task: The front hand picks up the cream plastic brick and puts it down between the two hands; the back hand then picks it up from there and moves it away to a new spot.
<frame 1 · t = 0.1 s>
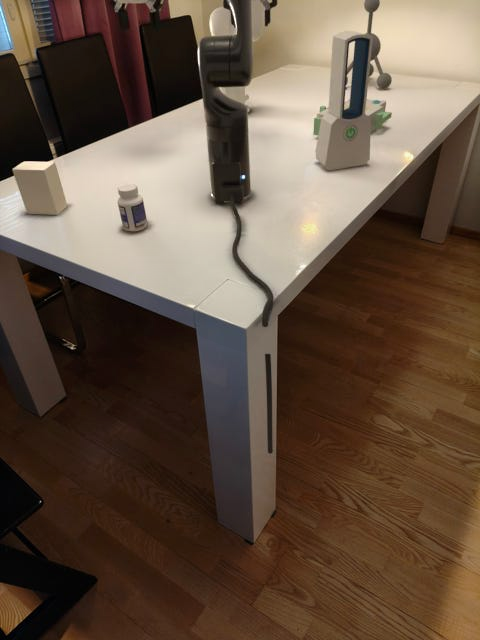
front hand: (251, 26, 133), 29 cm above the table, tool pointing down, fingers open, 8 cm apart
back hand: (140, 30, 123), 31 cm above the table, tool pointing down, fingers open, 9 cm apart
molecular model: (358, 86, 194), on the table
pill bottle: (135, 227, 105), on the table
decorative block: (349, 129, 151), on the table
electronic device: (341, 163, 129), on the table
brick: (47, 209, 115), on the table
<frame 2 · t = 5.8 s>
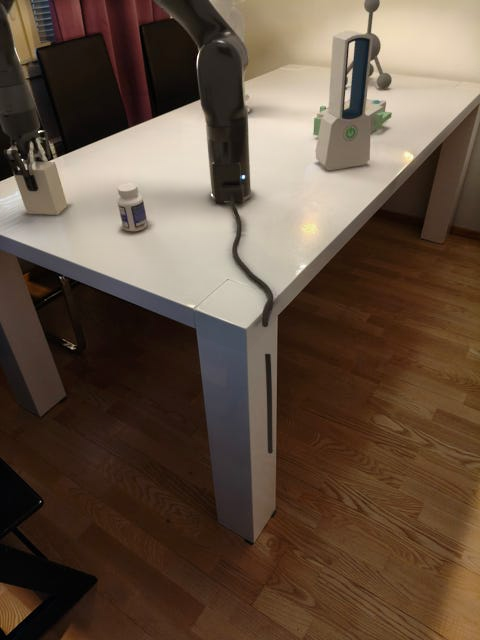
front hand: (39, 185, 111), 6 cm above the table, tool pointing down, fingers closed on brick, 5 cm apart
brick: (47, 209, 115), on the table, touching front hand
everything else where it was.
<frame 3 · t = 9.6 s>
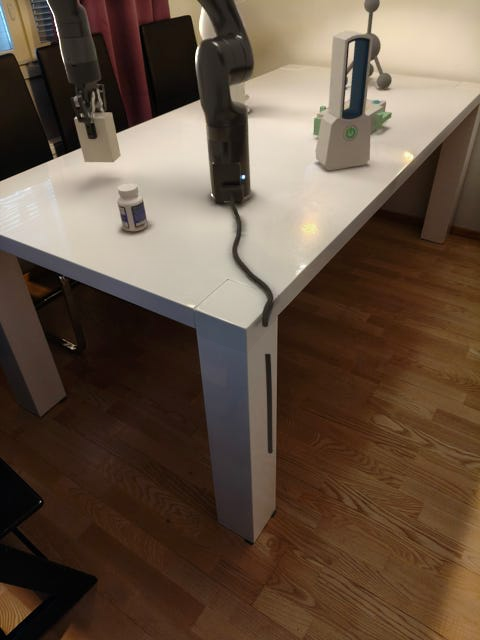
front hand: (97, 134, 121), 12 cm above the table, tool pointing down, fingers closed on brick, 5 cm apart
brick: (102, 158, 124), point 6 cm above the table, touching front hand
everything else where it was.
when the front hand's fingers open (8 cm above the table, at t = 13.4 s): brick drops 2 cm, on the table.
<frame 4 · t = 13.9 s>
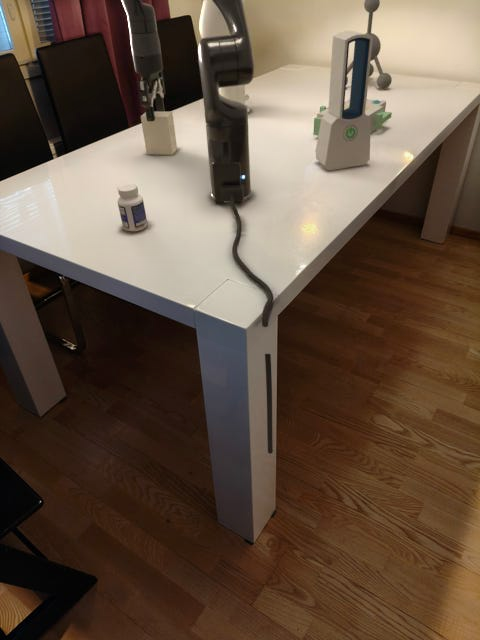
front hand: (156, 116, 137), 10 cm above the table, tool pointing down, fingers open, 8 cm apart
brick: (162, 151, 143), on the table
everything else where it was.
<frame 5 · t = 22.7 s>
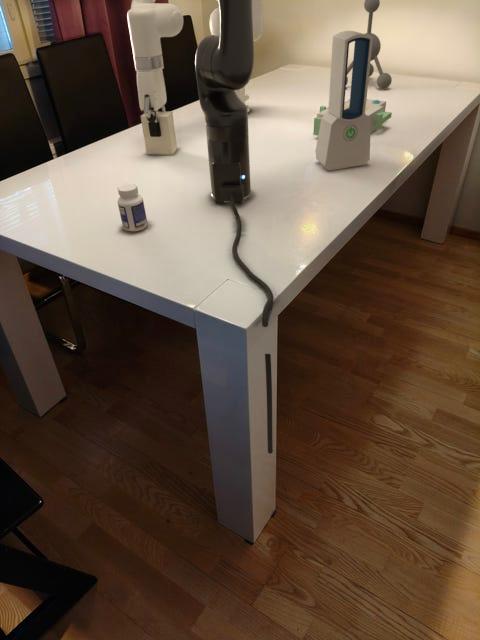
back hand: (159, 132, 140), 5 cm above the table, tool pointing down, fingers closed on brick, 5 cm apart
brick: (162, 151, 143), on the table, touching back hand
everything else where it was.
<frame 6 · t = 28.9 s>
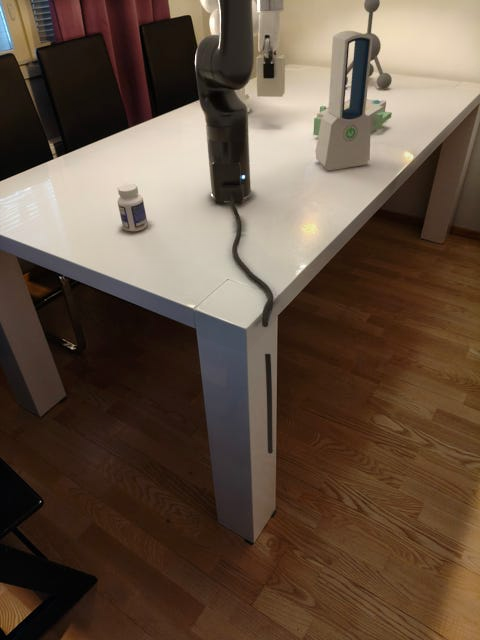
back hand: (270, 75, 148), 15 cm above the table, tool pointing down, fingers closed on brick, 5 cm apart
brick: (270, 94, 151), point 10 cm above the table, touching back hand
everything else where it was.
when the back hand's fingers open (7 cm above the table, at t = 35.3 s): brick drops 1 cm, on the table.
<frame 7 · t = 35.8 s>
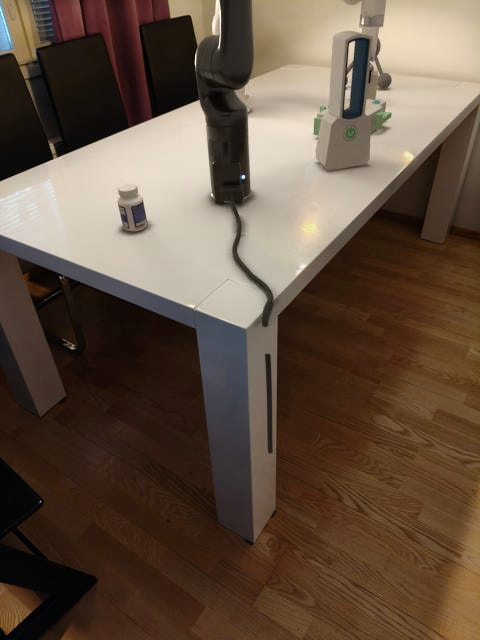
back hand: (365, 79, 165), 8 cm above the table, tool pointing down, fingers open, 9 cm apart
brick: (362, 106, 171), on the table
everything else where it was.
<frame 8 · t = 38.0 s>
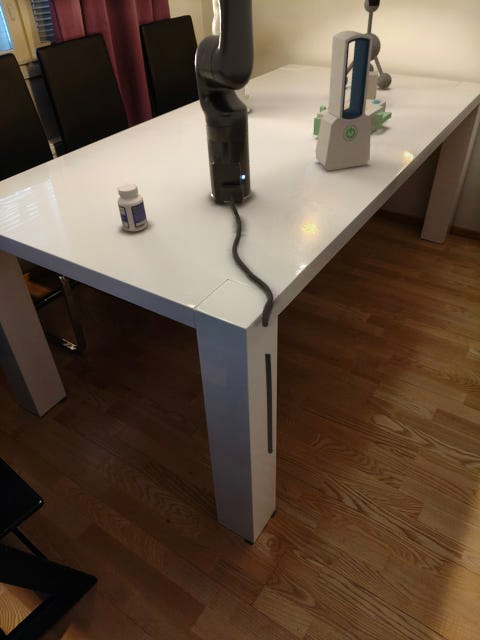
back hand: (373, 4, 152), 30 cm above the table, tool pointing down, fingers open, 9 cm apart
nothing on the table moved.
at the end: brick inside the target area (0.1 cm from its centre), on the table; brick tilted 0°; the two hands never held the brick at the same time; the front hand is holding nothing; the back hand is holding nothing; brick at rest at the end (0.0 cm/s) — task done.
